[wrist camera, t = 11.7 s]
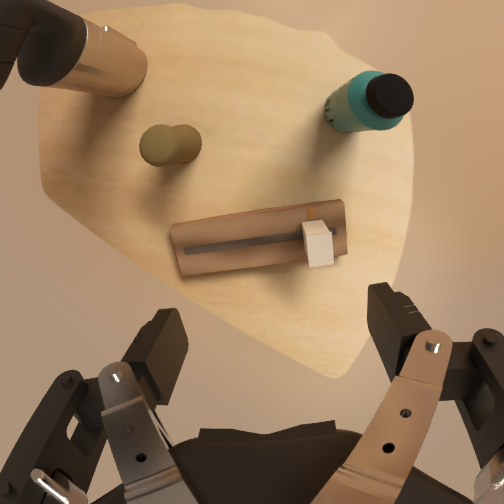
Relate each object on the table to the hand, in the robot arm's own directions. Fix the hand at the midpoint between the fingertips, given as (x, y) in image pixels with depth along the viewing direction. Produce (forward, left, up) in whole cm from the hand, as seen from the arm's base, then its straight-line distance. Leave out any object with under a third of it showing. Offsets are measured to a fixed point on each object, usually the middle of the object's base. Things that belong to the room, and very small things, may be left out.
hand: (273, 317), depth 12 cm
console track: (+7, -3, -33) cm, 34 cm away
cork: (-9, -12, -33) cm, 37 cm away
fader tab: (+7, +5, -30) cm, 32 cm away
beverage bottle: (-10, +12, -33) cm, 37 cm away
